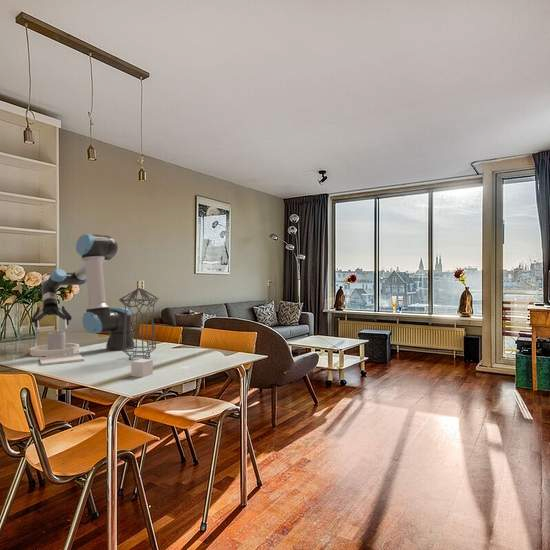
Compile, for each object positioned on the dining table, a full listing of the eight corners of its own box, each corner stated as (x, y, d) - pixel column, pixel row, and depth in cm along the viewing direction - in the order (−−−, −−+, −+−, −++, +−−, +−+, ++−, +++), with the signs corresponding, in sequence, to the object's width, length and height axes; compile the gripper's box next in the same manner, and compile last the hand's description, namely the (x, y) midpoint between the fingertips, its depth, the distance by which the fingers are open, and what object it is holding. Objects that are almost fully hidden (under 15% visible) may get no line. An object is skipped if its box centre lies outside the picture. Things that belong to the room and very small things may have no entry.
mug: (68, 352, 221) (68, 332, 221) (52, 354, 214) (52, 333, 214) (57, 350, 228) (57, 330, 228) (41, 352, 221) (41, 332, 221)
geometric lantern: (117, 361, 195) (117, 288, 195) (131, 355, 210) (130, 287, 211) (149, 362, 194) (149, 288, 194) (161, 355, 209) (160, 287, 209)
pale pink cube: (131, 376, 166) (131, 361, 166) (141, 373, 172) (141, 358, 172) (142, 377, 164) (142, 362, 164) (152, 374, 169) (152, 359, 169)
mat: (78, 355, 212) (78, 353, 212) (84, 360, 197) (84, 358, 197) (38, 359, 202) (38, 357, 202) (41, 365, 187) (41, 363, 187)
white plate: (86, 348, 233) (86, 343, 233) (64, 356, 209) (64, 350, 209) (46, 348, 233) (46, 343, 233) (20, 356, 210) (20, 350, 210)
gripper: (73, 305, 249) (76, 332, 236) (25, 307, 235) (26, 336, 222) (74, 296, 244) (77, 324, 232) (25, 298, 230) (26, 327, 218)
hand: (52, 330), depth 227 cm, fingers open, 13 cm apart
